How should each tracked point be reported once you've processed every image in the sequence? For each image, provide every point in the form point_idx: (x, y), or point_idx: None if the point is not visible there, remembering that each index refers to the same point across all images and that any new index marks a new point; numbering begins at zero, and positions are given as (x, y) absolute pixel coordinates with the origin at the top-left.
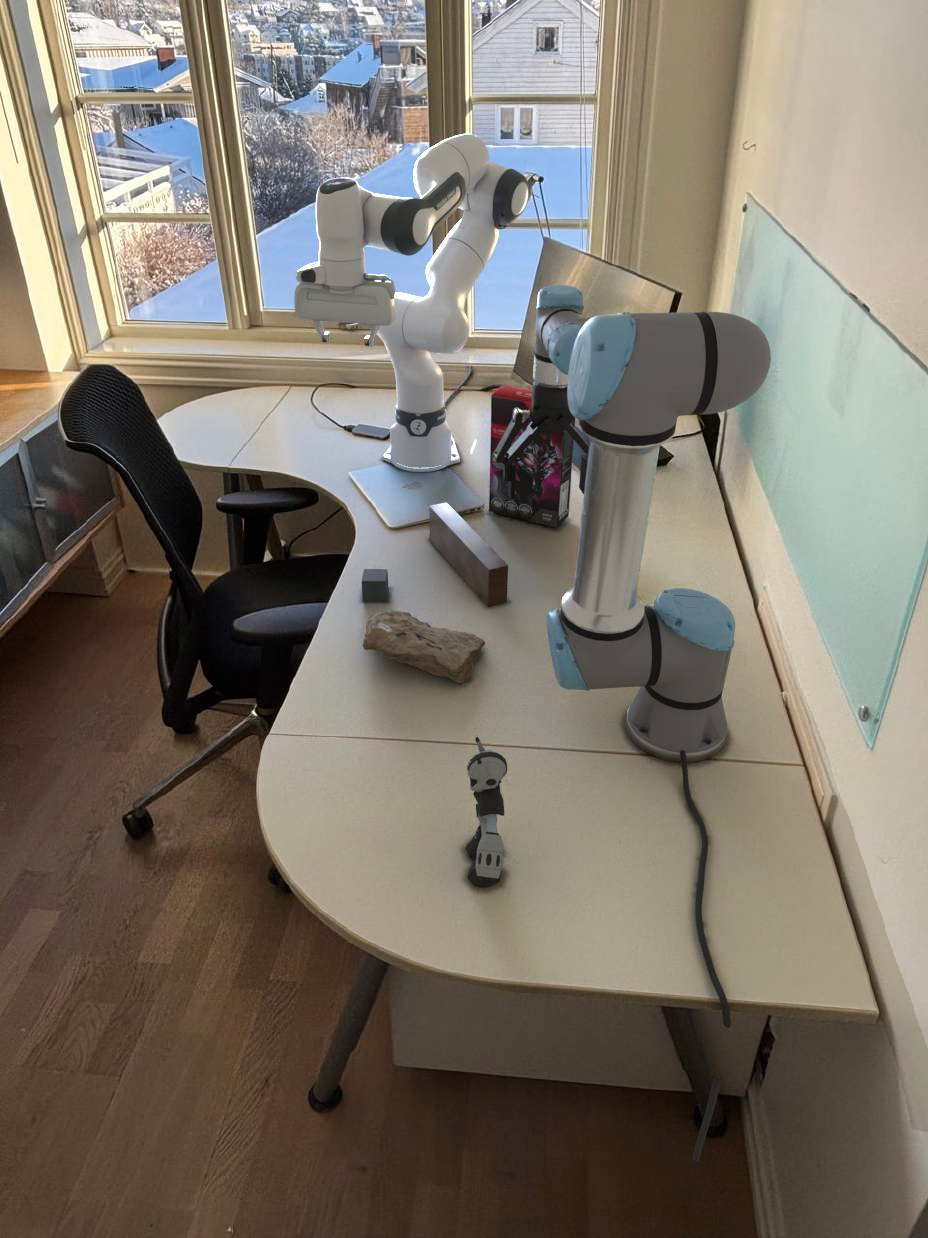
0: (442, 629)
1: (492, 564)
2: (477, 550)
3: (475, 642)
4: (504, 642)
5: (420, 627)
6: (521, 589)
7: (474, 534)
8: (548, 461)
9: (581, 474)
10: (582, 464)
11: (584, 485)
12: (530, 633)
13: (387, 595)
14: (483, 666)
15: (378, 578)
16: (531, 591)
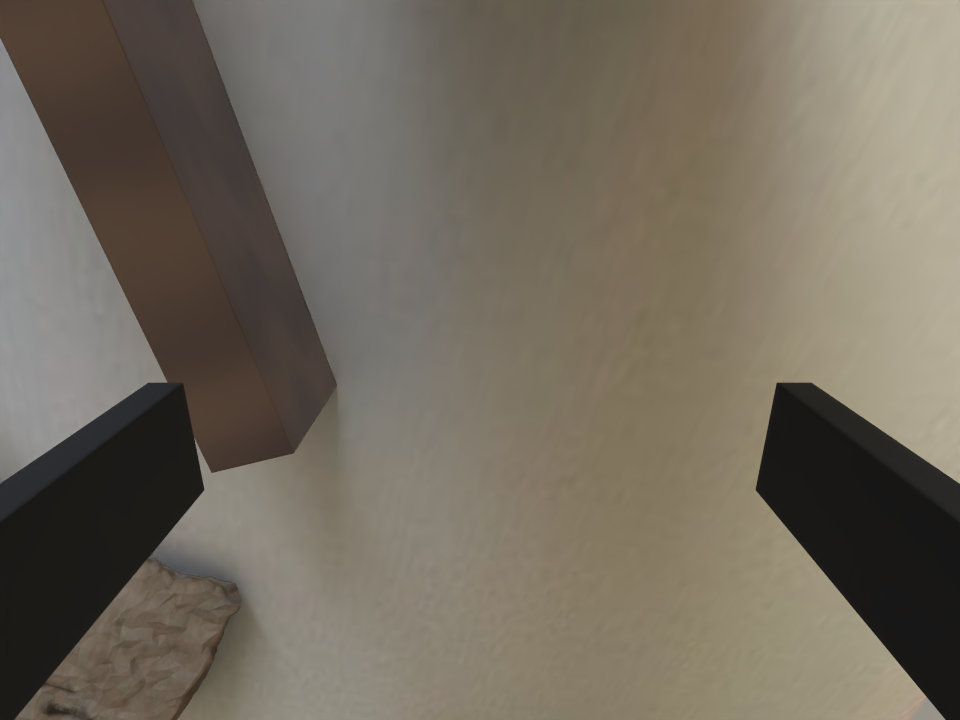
0: None
1: (228, 437)
2: (164, 317)
3: (208, 621)
4: (305, 564)
5: None
6: (397, 319)
7: (148, 154)
8: None
9: (856, 492)
10: (948, 580)
11: (800, 536)
12: (382, 539)
13: None
14: (243, 638)
15: None
16: (429, 337)
